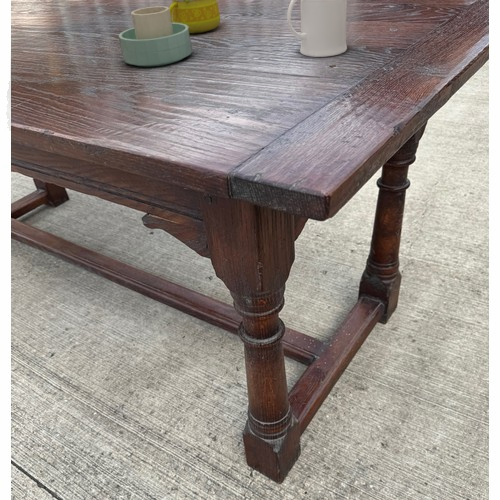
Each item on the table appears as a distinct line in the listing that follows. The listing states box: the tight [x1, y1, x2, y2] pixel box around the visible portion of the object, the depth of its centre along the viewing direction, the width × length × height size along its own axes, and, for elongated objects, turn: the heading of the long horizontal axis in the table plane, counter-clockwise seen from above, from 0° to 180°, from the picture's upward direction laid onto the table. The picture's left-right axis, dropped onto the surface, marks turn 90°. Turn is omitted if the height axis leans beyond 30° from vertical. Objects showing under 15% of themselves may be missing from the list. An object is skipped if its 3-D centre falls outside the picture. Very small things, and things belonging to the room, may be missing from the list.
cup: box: [130, 5, 173, 40], centre depth 96 cm, size 7×7×8 cm
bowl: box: [117, 23, 193, 68], centre depth 98 cm, size 13×13×5 cm
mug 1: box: [169, 0, 221, 35], centre depth 112 cm, size 13×11×12 cm
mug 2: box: [286, 0, 348, 58], centre depth 90 cm, size 12×8×12 cm
